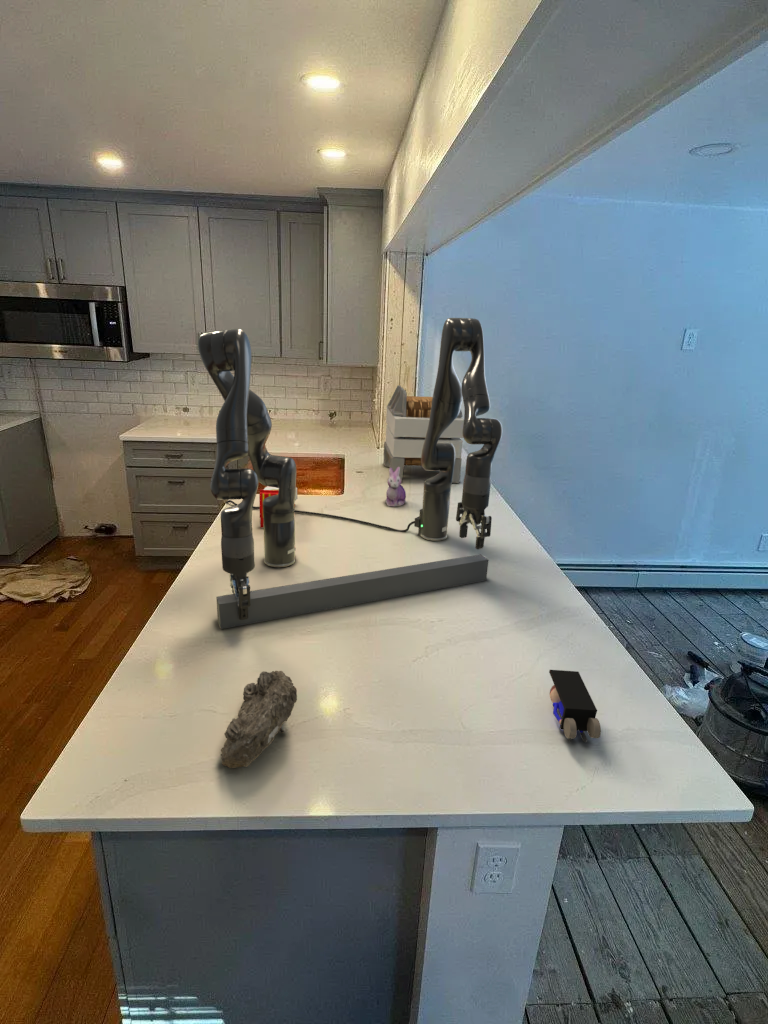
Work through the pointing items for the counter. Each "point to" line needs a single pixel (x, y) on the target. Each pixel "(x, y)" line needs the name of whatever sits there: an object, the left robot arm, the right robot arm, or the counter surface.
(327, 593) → the beam
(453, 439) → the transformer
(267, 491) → the toy
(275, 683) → the fossil
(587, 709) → the figurine character
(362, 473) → the counter surface
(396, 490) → the figurine
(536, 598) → the counter surface
